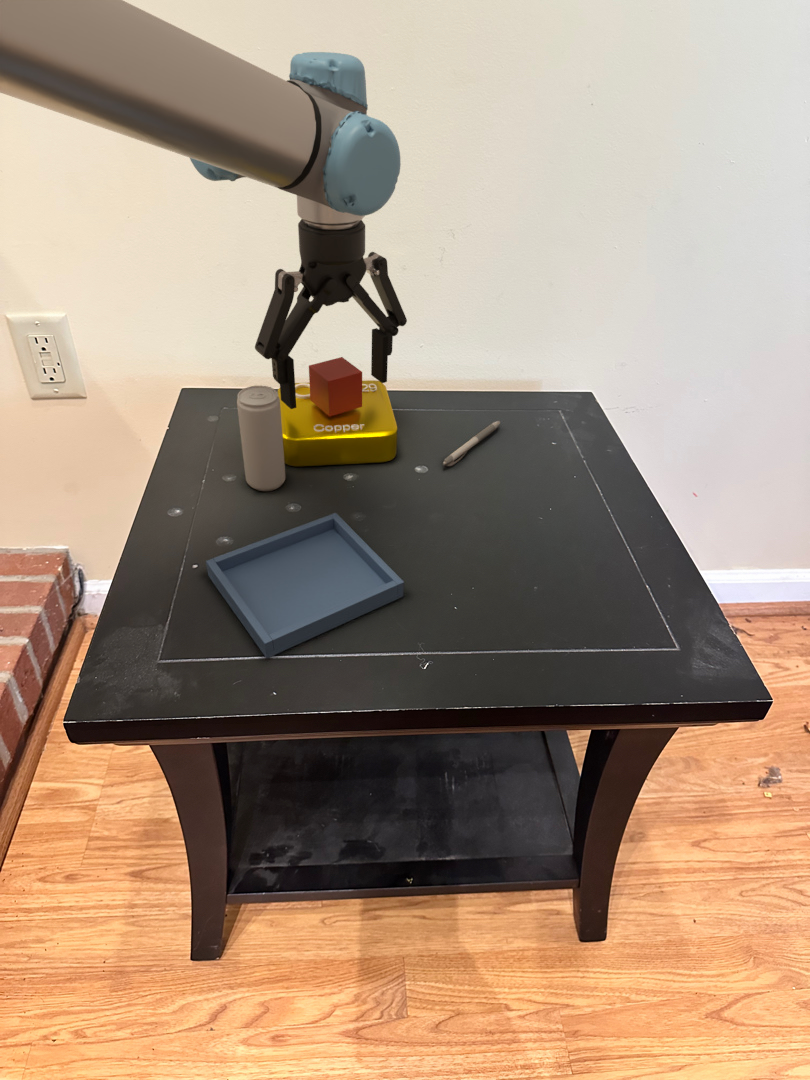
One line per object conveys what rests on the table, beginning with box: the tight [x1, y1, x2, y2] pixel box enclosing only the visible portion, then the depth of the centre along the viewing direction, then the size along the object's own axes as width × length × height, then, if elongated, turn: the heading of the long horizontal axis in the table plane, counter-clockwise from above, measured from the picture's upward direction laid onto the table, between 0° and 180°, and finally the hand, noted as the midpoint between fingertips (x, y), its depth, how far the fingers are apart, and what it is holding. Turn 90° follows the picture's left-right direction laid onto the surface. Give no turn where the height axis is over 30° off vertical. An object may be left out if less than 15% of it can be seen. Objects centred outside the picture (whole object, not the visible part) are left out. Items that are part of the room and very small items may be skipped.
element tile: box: [277, 379, 398, 468], centre depth 98 cm, size 15×15×5 cm
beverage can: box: [236, 385, 286, 492], centre depth 86 cm, size 5×5×12 cm
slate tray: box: [205, 512, 405, 659], centre depth 75 cm, size 16×14×2 cm
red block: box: [308, 356, 363, 417], centre depth 94 cm, size 5×5×5 cm
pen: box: [442, 420, 501, 467], centre depth 98 cm, size 1×14×1 cm, turn 143°
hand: (335, 391), depth 95 cm, fingers open, 13 cm apart
